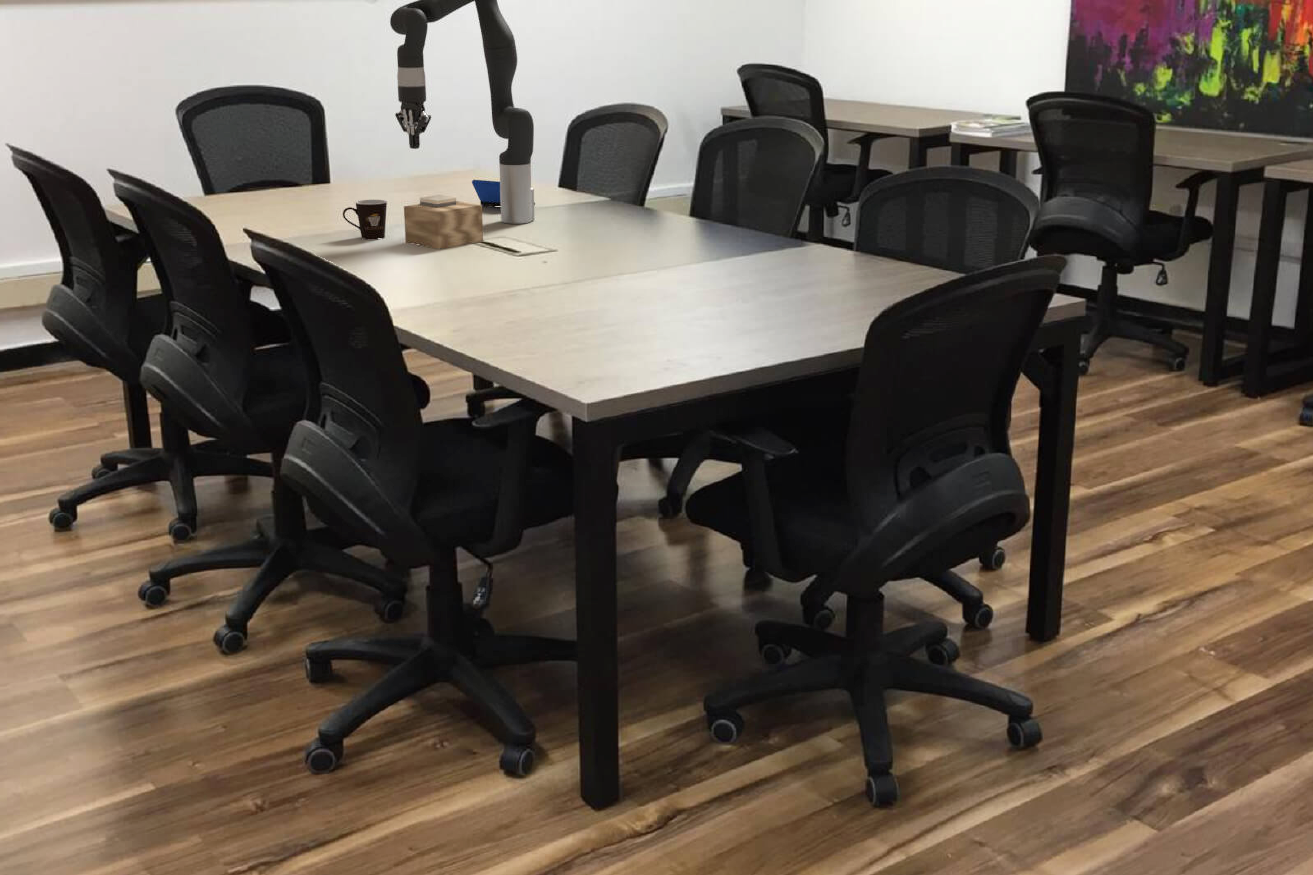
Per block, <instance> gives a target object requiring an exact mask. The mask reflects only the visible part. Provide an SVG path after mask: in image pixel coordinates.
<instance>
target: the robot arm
mask: <svg viewBox="0 0 1313 875" xmlns="http://www.w3.org/2000/svg"><path fill="white" fill-rule="evenodd" d="M473 2H474V5H475V8H476V12H477V16H478V23H479V27H480V28H479V29H480V35H481V40H482V48H483V54H484V59H485V64H486V71H487V78H488V85H489V92H490V105H491V120H492V126H493V130H494V132H495V133H496V135H497V136H498V137H499V138H501V139H506V140H507V147H506V149H505V151H502V152H501V153H500V154H499V156H498V158H499V159H498V162H499V164H498V168H499V182H500V200H501V208H500V221H501V223H504V224H511V225H512V224H513V225H514V224H515V225H516V224H527V223H531V222H533V221H535V206H534V202H535V189H534V188H533V187H532V168H531V167H532V162H531V160H532V155H533V153H534V139H535V137H534V134H535V133H534V132H535V131H534V129H535V128H534V127H535V126H534V119H533V116H532V114H531V113H530V111H529V110H527V109H525V108H519V107H515V105H514V100H513V94H512V93H513V92H512V90H513V89H512V86H513V81H514V77H515V74H516V71H517V66H518V53H517V52H518V51H517V46H516V40H515V37H514V34H513V32H512V29H511V27H510V25H509V24H508V22H507V21H506V20H505V18H504V16H503V14H502V12H501V10H500V8H499V4H498V0H415V1H412V2H409V3H407V4H404V5H402V6H400V7H398V8H396V9H395V10H394V11H393V12H392V14H391V15H390V18H389V19H390V20H389V24H390V27H391V29H392V31H393V32H394V33H396V34H399V35H402V36H403V35H404V36H405V38H404V43H403V44H401V45H399V46H398V47H397V52H396V53H397V54H396V56H397V97H398V102H399V103H401V105H400V111H398V112H395V115H394V116H395V118H396V120H397V122H398V123H399V126H400V127H401V129H402V131H403V132H404V133H406V135H408V145H409V149H411V150H412V149H413V150H416V149H419V148H420V147H421V146H420V144H421V143H420V142H421V141H420V135H421V134H423V133H425V132H426V130H427V127H428V126H429V123H430V121H431V120H432V115H430V114H427V113H426V108H425V102H426V101H427V90H426V89H427V88H426V74H425V73H426V72H425V68H424V67H425V64H424V63H425V61H424V49H425V45H426V39H427V34H428V24H431V23H436V22H438V21H440V20H442V19H443V18H445V17H447V16H448V15H450V14H452V13H453V12H456V11H457V10H459V9H460V8H462V7H464V6H466V5H469V4H471V3H473ZM532 220H533V221H532Z"/></svg>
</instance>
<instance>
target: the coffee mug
mask: <svg viewBox="0 0 1313 875" xmlns="http://www.w3.org/2000/svg"><path fill="white" fill-rule="evenodd" d="M387 205H388V201H387V200H385V199H362V200H357V201H355V207H356V208H355V207H352V206H351V207H349V206H348V207H346V208H344V209H343V212H342V217H343V219H344V220H345V221H346V222H347V223H348V224H350V225H352V226H353V227H356V228H357V229H358V230H359V231H360V236H361V239H362V238H365V239H364V240H368V239H375V240H379V239H378V238H382V239H384V238H386V220H387ZM349 210H351V211H353V212H354V213H355V214H356V215H357V219H358V225H359V226H358V225H357V224H355V223H354V222H351V221H350V220H348V218H346V215H345V214H346V212H347V211H349Z"/></svg>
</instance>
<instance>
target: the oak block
mask: <svg viewBox="0 0 1313 875" xmlns="http://www.w3.org/2000/svg"><path fill="white" fill-rule="evenodd" d="M403 215H404V216H403V217H404V233H405V234H404V237H405V243H406V244H410V243H414V244H413V245H416V244H419V245H418V246H421V245H422V247H426V246H427V248H432V249H436V248H438V250H440V248H442V249H447V248H452V247H458V246H463V244H464V245H468V244H467V243H469V244H474V243H480V242H484V228H483V227H484V225H483V222H484V221H483V206H482V205H481V204H480V203H479V204H477V203H473V202H472V203H471V202H464V201H460V200H456V205H452V206H445V207H439V208H435V207H429V206H423V205H420V203H418V204H417V203H415V204H411V205H404V206H403Z"/></svg>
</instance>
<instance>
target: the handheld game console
mask: <svg viewBox="0 0 1313 875" xmlns="http://www.w3.org/2000/svg"><path fill="white" fill-rule="evenodd" d="M471 183H472V186H473V188H474V191H475V192H476V195H477V196H478V199H479V201H480V203H479V204H480V205H484V206H483V207H487V206H501V200H500V181H496V180H484V179H483V180H482V179H473V180H471ZM534 205H535V206H536V202H535V201H534Z"/></svg>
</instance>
